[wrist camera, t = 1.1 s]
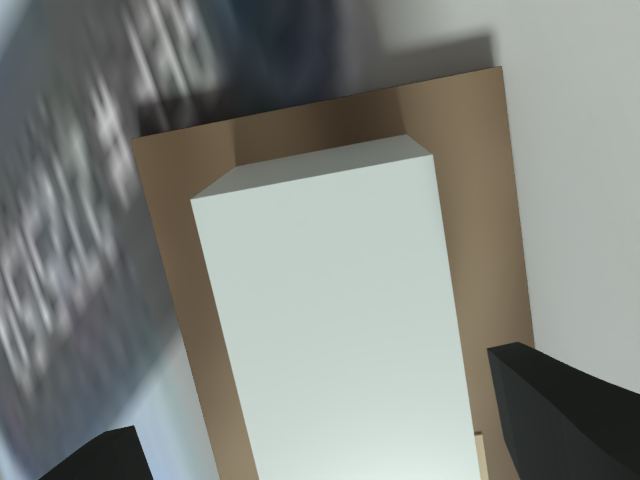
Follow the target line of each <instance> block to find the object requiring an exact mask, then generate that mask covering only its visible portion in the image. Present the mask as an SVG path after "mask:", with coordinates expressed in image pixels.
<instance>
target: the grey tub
mask: <svg viewBox="0 0 640 480" xmlns="http://www.w3.org/2000/svg"><path fill="white" fill-rule="evenodd" d="M190 201H191V205H192V209H193V213H194V217H195V221H196V225H197V229H198V234H199V238H200V242H201V246H202V250H203V254H204V258H205V262H206V266H207V270H208V274H209V278H210V282H211V286H212V290H213V294H214V298H215V302H216V306H217V310H218V314H219V319H220V323H221V327H222V331H223V335H224V339H225V343H226V347H227V351H228V355H229V359H230V363H231V367H232V371H233V375H234V379H235V383H236V387H237V391H238V395H239V400H240V404H241V408H242V412H243V416H244V420H245V424H246V428H247V432H248V436H249V440H250V444H251V448H252V452H253V456H254V460H255V464H256V468H257V472H258V476H259V480H481V478H480V471H479V464H478V458H477V451H476V444H475V437H474V431H473V424H472V417H471V410H470V403H469V397H468V390H467V383H466V376H465V370H464V363H463V356H462V349H461V342H460V336H459V329H458V322H457V315H456V309H455V302H454V295H453V288H452V282H451V275H450V268H449V261H448V254H447V248H446V241H445V234H444V227H443V221H442V214H441V207H440V200H439V193H438V187H437V180H436V173H435V166H434V160H433V154H431V153H430V152H429V151H428V150H426V149H425V148H424V147H422V146H421V145H420V144H419V143H417V142H416V141H415V140H413V139H412V138H411V137H409V136H408V135H407V134H404V135H399V136H394V137H388V138H383V139H378V140H373V141H367V142H362V143H357V144H352V145H346V146H341V147H336V148H331V149H325V150H320V151H315V152H310V153H304V154H299V155H294V156H288V157H283V158H278V159H273V160H267V161H262V162H257V163H252V164H246V165H241V166H236V167H234V168H233V169H232V170H230V171H229V172H228V173H226V174H225V175H223V176H222V177H221V178H219V179H218V180H217V181H215V182H214V183H212V184H211V185H210V186H208V187H207V188H206V189H204V190H203V191H201V192H200V193H199V194H197V195H196V196H195V197H193V198H192V199H190Z"/></svg>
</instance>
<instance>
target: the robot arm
mask: <svg viewBox="0 0 640 480" xmlns="http://www.w3.org/2000/svg"><path fill="white" fill-rule="evenodd" d="M486 349H487V354H488V359H489V364H490V369H491V375H492V380H493V385H494V390H495V395H496V401H497V406H498V411H499V416H500V421H501V427H502V432H503V437H504V441H505V444H506V446H507V448H508V451H509V453H510V456H511V458H512V461H513V463H514V466H515V468H516V471H517V473H518V475H519V478H520V480H640V394H638V393H635V392H632V391H629V390H627V389H624V388H622V387H619V386H616V385H614V384H611V383H608V382H606V381H603V380H601V379H598V378H596V377H594V376H591V375H589V374H587V373H584V372H582V371H580V370H578V369H575V368H573V367H571V366H569V365H567V364H565V363H563V362H560V361H558V360H556V359H554V358H552V357H550V356H548V355H546V354H544V353H542V352H540V351H538V350H536V349H534V348H532V347H529V346H527V345H525V344H523V343H520V342H514V343H509V344H504V345H500V346H495V347H491V348H486ZM39 480H153V477H152V474H151V472H150V469H149V466H148V463H147V460H146V458H145V455H144V452H143V449H142V446H141V444H140V441H139V438H138V435H137V433H136V430H135V427H134V425H133V426H129V427H124V428H120V429H115V430H110V431H106V432H104V433H102V434H100V435H99V436H97V437H95V438H94V439H92V440H91V441H89V442H88V443H86V444H85V445H84V446H82V447H81V448H79V449H78V450H77V451H75V452H74V453H73V454H71V455H70V456H69V457H67V458H66V459H65V460H63V461H62V462H61V463H60V464H58V465H57V466H56V467H54V468H53V469H52V470H50V471H49V472H48V473H47V474H45V475H44V476H43V477H41V478H40V479H39Z"/></svg>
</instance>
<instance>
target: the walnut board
mask: <svg viewBox="0 0 640 480" xmlns="http://www.w3.org/2000/svg"><path fill="white" fill-rule="evenodd" d="M404 134H407V135H408V136H409V137H411V138H412V139H413V140H415V141H416V142H417V143H419V144H420V145H421V146H422V147H424V148H425V149H426V150H428V151H429V152H430V153H431V154H433V160H434V166H435V173H436V180H437V187H438V193H439V200H440V207H441V214H442V221H443V227H444V234H445V241H446V248H447V254H448V261H449V268H450V275H451V282H452V288H453V295H454V302H455V309H456V315H457V322H458V329H459V336H460V342H461V349H462V356H463V363H464V370H465V376H466V383H467V390H468V397H469V403H470V410H471V417H472V424H473V431H474V437H475V444H476V451H477V458H478V464H479V471H480V478H481V480H520V478H519V475H518V473H517V471H516V468H515V466H514V463H513V461H512V458H511V456H510V453H509V451H508V448H507V446H506V444H505V441H504V437H503V432H502V427H501V421H500V416H499V411H498V406H497V401H496V395H495V390H494V385H493V380H492V375H491V369H490V364H489V359H488V354H487V349H486V348H491V347H495V346H500V345H504V344H509V343H514V342H520V343H523V344H525V345H527V346H529V347H532V348H534V349H535V346H534V337H533V329H532V320H531V311H530V303H529V294H528V286H527V277H526V268H525V260H524V251H523V243H522V234H521V226H520V217H519V208H518V200H517V191H516V183H515V174H514V166H513V157H512V148H511V140H510V131H509V123H508V114H507V105H506V97H505V88H504V80H503V71H502V66H499V67H492V68H487V69H482V70H477V71H472V72H467V73H462V74H457V75H452V76H447V77H441V78H436V79H431V80H426V81H421V82H416V83H411V84H406V85H401V86H396V87H391V88H386V89H381V90H375V91H370V92H365V93H360V94H355V95H350V96H345V97H340V98H335V99H330V100H325V101H320V102H315V103H309V104H304V105H299V106H294V107H289V108H284V109H279V110H274V111H269V112H264V113H259V114H254V115H249V116H244V117H238V118H233V119H228V120H223V121H218V122H213V123H208V124H203V125H198V126H193V127H188V128H183V129H178V130H172V131H167V132H162V133H157V134H152V135H147V136H142V137H138V138H133V139H130V140H131V144H132V148H133V152H134V156H135V159H136V163H137V167H138V171H139V174H140V178H141V182H142V186H143V190H144V193H145V197H146V201H147V205H148V208H149V212H150V216H151V220H152V224H153V227H154V231H155V235H156V239H157V243H158V246H159V250H160V254H161V258H162V261H163V265H164V269H165V273H166V277H167V280H168V284H169V288H170V292H171V295H172V299H173V303H174V307H175V311H176V314H177V318H178V322H179V326H180V329H181V333H182V337H183V341H184V345H185V348H186V352H187V356H188V360H189V364H190V367H191V371H192V375H193V379H194V382H195V386H196V390H197V394H198V398H199V401H200V405H201V409H202V413H203V416H204V420H205V424H206V428H207V432H208V435H209V439H210V443H211V447H212V450H213V454H214V458H215V462H216V466H217V469H218V473H219V477H220V480H259V476H258V472H257V468H256V464H255V460H254V456H253V452H252V448H251V444H250V440H249V436H248V432H247V428H246V424H245V420H244V416H243V412H242V408H241V404H240V400H239V395H238V391H237V387H236V383H235V379H234V375H233V371H232V367H231V363H230V359H229V355H228V351H227V347H226V343H225V339H224V335H223V331H222V327H221V323H220V319H219V314H218V310H217V306H216V302H215V298H214V294H213V290H212V286H211V282H210V278H209V274H208V270H207V266H206V262H205V258H204V254H203V250H202V246H201V242H200V238H199V234H198V229H197V225H196V221H195V217H194V213H193V209H192V205H191V201H190V199H192V198H193V197H195V196H196V195H197V194H199V193H200V192H201V191H203V190H204V189H206V188H207V187H208V186H210V185H211V184H212V183H214V182H215V181H217V180H218V179H219V178H221V177H222V176H223V175H225V174H226V173H228V172H229V171H230V170H232V169H233V168H234V167H236V166H241V165H246V164H252V163H257V162H262V161H267V160H273V159H278V158H283V157H288V156H294V155H299V154H304V153H310V152H315V151H320V150H325V149H331V148H336V147H341V146H346V145H352V144H357V143H362V142H367V141H373V140H378V139H383V138H388V137H394V136H399V135H404Z"/></svg>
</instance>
